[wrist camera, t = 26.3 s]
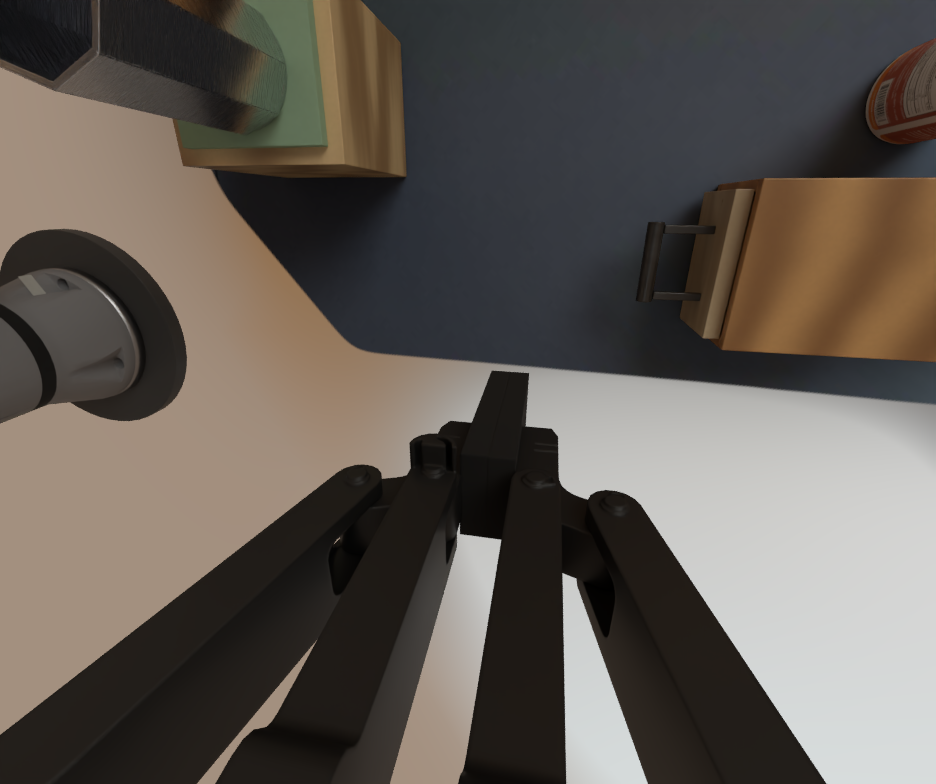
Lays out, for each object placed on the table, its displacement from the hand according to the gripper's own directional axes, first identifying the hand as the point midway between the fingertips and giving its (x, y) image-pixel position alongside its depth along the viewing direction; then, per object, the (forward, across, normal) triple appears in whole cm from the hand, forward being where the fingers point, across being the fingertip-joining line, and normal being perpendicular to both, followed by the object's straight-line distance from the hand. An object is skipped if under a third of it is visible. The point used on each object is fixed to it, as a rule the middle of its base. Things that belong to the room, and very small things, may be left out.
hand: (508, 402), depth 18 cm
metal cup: (+13, -18, +15) cm, 27 cm away
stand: (+26, -18, +15) cm, 35 cm away
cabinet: (+26, +22, +3) cm, 34 cm away
